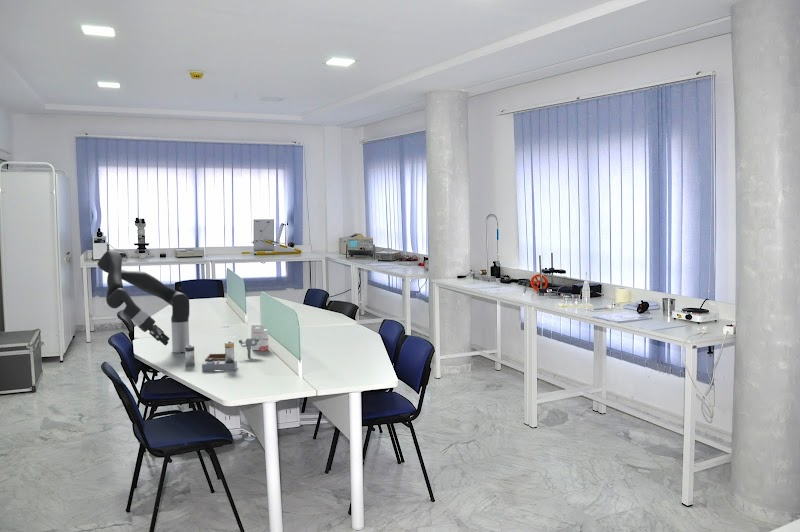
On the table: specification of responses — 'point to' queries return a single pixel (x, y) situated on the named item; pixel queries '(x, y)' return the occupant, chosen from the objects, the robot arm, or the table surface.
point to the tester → (219, 366)
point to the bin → (216, 357)
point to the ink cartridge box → (260, 337)
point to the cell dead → (189, 355)
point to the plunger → (210, 361)
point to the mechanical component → (249, 344)
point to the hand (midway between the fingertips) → (167, 342)
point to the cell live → (229, 352)
